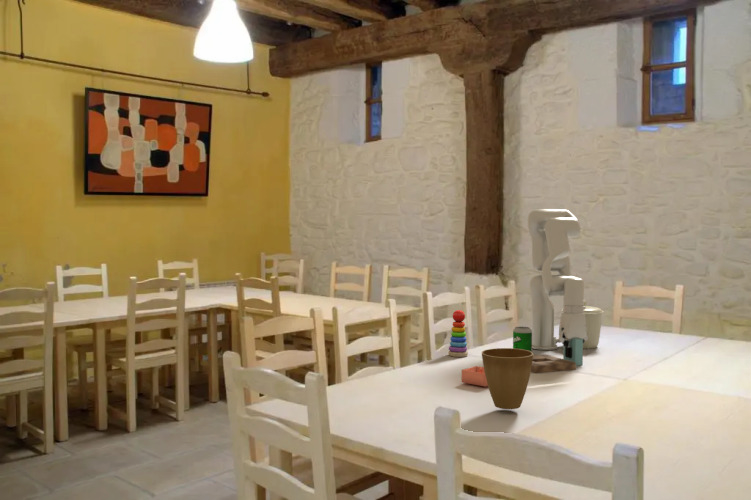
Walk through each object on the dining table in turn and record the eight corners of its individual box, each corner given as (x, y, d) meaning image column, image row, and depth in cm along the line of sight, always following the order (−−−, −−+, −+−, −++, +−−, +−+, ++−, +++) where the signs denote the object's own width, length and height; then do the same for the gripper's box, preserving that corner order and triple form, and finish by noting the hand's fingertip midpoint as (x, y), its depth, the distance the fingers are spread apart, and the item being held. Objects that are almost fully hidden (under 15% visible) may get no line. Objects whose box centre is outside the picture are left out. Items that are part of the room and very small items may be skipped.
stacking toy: (468, 357, 277) (469, 311, 276) (449, 357, 277) (449, 311, 277) (466, 354, 285) (467, 309, 284) (447, 353, 285) (447, 309, 284)
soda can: (530, 355, 282) (530, 326, 282) (532, 358, 275) (533, 329, 274) (511, 355, 283) (512, 326, 283) (513, 358, 276) (514, 328, 275)
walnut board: (545, 360, 271) (545, 350, 271) (575, 369, 255) (575, 358, 255) (507, 364, 264) (507, 353, 264) (535, 373, 248) (535, 362, 248)
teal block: (570, 361, 269) (570, 336, 269) (582, 365, 263) (582, 339, 263) (563, 362, 268) (563, 336, 268) (575, 365, 262) (575, 339, 261)
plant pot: (496, 397, 212) (497, 346, 211) (541, 405, 202) (542, 351, 202) (471, 407, 200) (472, 352, 200) (517, 416, 191) (518, 359, 190)
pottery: (485, 386, 228) (485, 357, 227) (461, 382, 234) (461, 353, 233) (513, 377, 241) (513, 349, 241) (489, 373, 247) (490, 346, 247)
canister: (551, 346, 305) (552, 298, 305) (583, 343, 313) (584, 297, 312) (580, 352, 289) (580, 303, 288) (612, 349, 297) (613, 301, 296)
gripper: (584, 307, 272) (583, 354, 272) (549, 309, 265) (549, 356, 266) (597, 310, 265) (596, 357, 265) (562, 311, 258) (561, 360, 259)
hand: (572, 356), depth 265 cm, fingers closed on teal block, 3 cm apart
